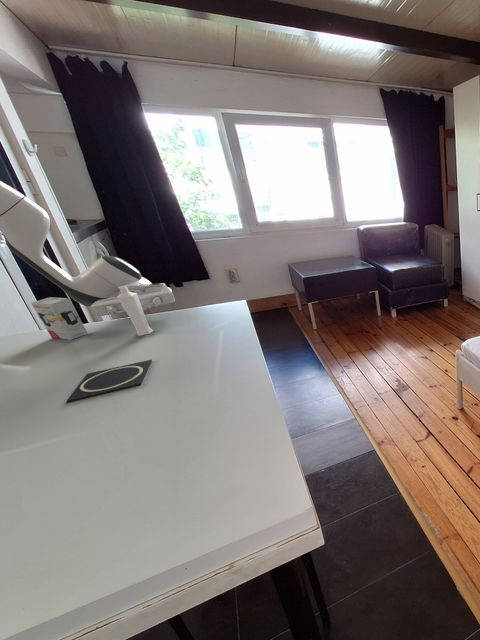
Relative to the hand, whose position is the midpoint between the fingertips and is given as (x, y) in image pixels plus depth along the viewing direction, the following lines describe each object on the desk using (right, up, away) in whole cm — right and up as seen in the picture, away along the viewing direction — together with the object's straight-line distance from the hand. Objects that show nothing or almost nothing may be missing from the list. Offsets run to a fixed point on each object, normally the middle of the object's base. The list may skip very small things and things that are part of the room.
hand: (133, 308), depth 111 cm
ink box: (-23, -8, +3) cm, 25 cm away
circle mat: (+16, -20, -23) cm, 34 cm away
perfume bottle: (+1, -8, +3) cm, 8 cm away
